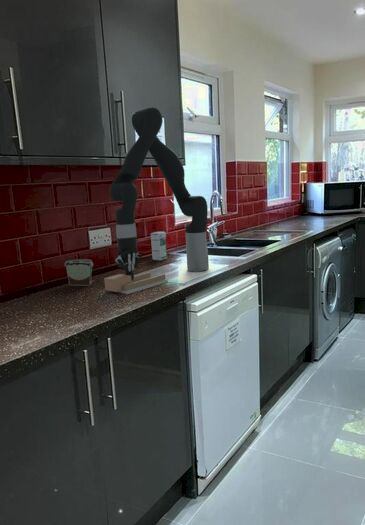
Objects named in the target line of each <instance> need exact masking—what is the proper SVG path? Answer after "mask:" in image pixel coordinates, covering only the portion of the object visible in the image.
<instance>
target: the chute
mask: <svg viewBox="0 0 365 525" xmlns="http://www.w3.org/2000/svg"><path fill="white" fill-rule="evenodd" d="M168 280H169V279H166V274H165V273H162V274H161V273H160V274H158V275H155V276H152V275H151V272H149V271H147V272H144V273H143V272H142V273H140V274H137V275H134V278H133V280H132V281H131V282H132V283H129V284H126V285H122V286H123V290H120V291H117V292H115V291H112V292H114V293H120V294H126V295H129V294H133V293H137V292H139V291H143V290H146V289H149V288H152V287H157V286H159V285H162V284H166V283H168ZM106 291H109V290H106ZM109 292H110V291H109Z"/></svg>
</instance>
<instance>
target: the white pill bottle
mask: <svg viewBox="0 0 365 525" xmlns="http://www.w3.org/2000/svg"><path fill="white" fill-rule="evenodd" d="M150 241H151V255H152V260H154V261H163V260H167V259H168V249H167V234H166V231H155V232H151V233H150Z"/></svg>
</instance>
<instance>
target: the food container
mask: <svg viewBox="0 0 365 525" xmlns="http://www.w3.org/2000/svg"><path fill="white" fill-rule="evenodd" d="M93 266H94V263H93V261H92V259H88V258H84V259H83V258H80V259H79V258H78V259H71V260H66V261H65V262H64V267H66V268H65V270H66V274H67V279H68V285H69V286H78V287H79V286H83V287H86V286H87V287H88V286H92V285H93V284H92V281H93V278H92V277H93V276H92V273H93V271H92V270H93Z"/></svg>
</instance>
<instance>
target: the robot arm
mask: <svg viewBox="0 0 365 525" xmlns="http://www.w3.org/2000/svg"><path fill="white" fill-rule="evenodd" d="M163 120H164V119H163V115H162V113H161V111H160V110H159V109H158V108H156V107H147V108H144V109H141V110H138V111H135V112H134V113H133V114H132V116H131V125H132V127H133V130H134V132H135V133H136V135H137V136H138V138H137V139H136V141H135V143H133V145H132V146H131V147H130V149H129V151H128V152H127V153H126V156H125V158H124V160H123V163H122V166H121V168H120V171H119V172H118V174H117V175H116V176H115V178H114V180H113V181H112V183H111V185H110V187H109V197H110V198H111V200H113V201H114V202H116V203H117V202H119V203H120V202H122V206H121V207H120V208H117V209H116V211H115V221H116V222H115V223H116V224H115V225H116V229H115V231H116V242H117V245H116V246H117V249H118V256H117V258H115V259H114V261H113V262H114V263H115V264H116V265H117V267H119V270H121V271H124V272H125V275H131V281H132V280H133V278H134V276H135V275H134V270H135V269H137V268H138V267H139V265H140V262H141V260H142V256H143V255H142V254H141V253H139V252H138V250H137V248H138V239H137V238H138V237H137V227H136V226H137V225H136V217H135V210H136V206H137V201H138V200H137V199H138V190H137V187H136V185H135V184H134V183H133V182H134V181H135V182H136V181H137V180H138V179H139V177H140V175H141V174H140V173H141V170H142V168H143V165H144V163H145V160H146V157H147V155H148V153H149V154H150V155H151V157H152V158H153V160H154V162H155V163H156V166H157V167H158V169H159V171H160V173H161V174H162V176H163V178H164V179H165V181H166V182H167V185H168V186H169V189H170V190H171V192H172V193H173V194H172V195H173V196H174V198H175V200H176V202H177V205H178V207H179V210H180V211H181V213H182V214H183V215H184V216H185V217H190V218H191V222H190V223H189V224H187V225H186V226H185V227H184V228H185V247H186V248H185V249H186V270H187V271H188V272H204V270H205V271H207V270H208V269H210V268H209V267H210V266H209V263H210V262H209V249H208V246H207V245H208V244H207V243H208V242H207V227H208V202H207V199H206V198H205V197H204V196H202V195H191V194H190V192H189V191H188V188H187V187H186V184H185V176H186V174H185V169H184V166H183V164H182V162H181V160H180V158H179V157H178V155H177V154H176V152H175V151H174V150H172V149H171V148H170V147H169V146H168V145H167V144H165V143H164V142H162V141H161V139H160V138H159V137H158V134H159V133H160V131H161V128H162V127H163V126H162V125H163Z"/></svg>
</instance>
